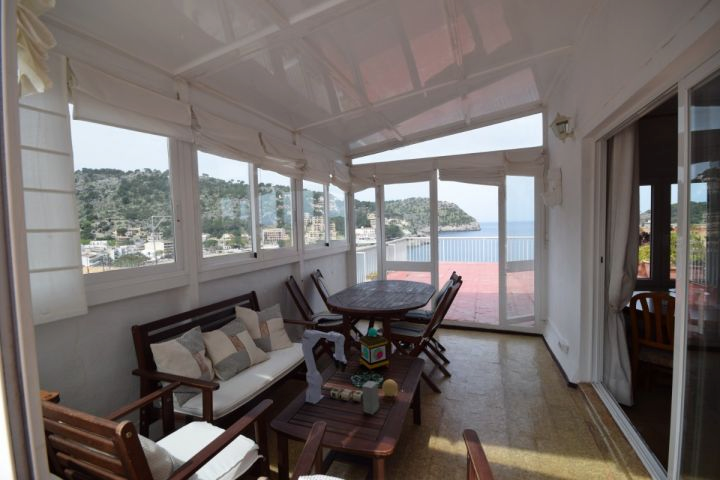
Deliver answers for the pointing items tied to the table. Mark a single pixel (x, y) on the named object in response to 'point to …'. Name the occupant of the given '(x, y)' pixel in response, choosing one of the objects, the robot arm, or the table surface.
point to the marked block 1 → (335, 392)
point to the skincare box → (370, 397)
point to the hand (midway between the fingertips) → (340, 370)
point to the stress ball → (390, 387)
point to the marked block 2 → (358, 396)
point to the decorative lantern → (373, 350)
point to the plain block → (346, 394)
